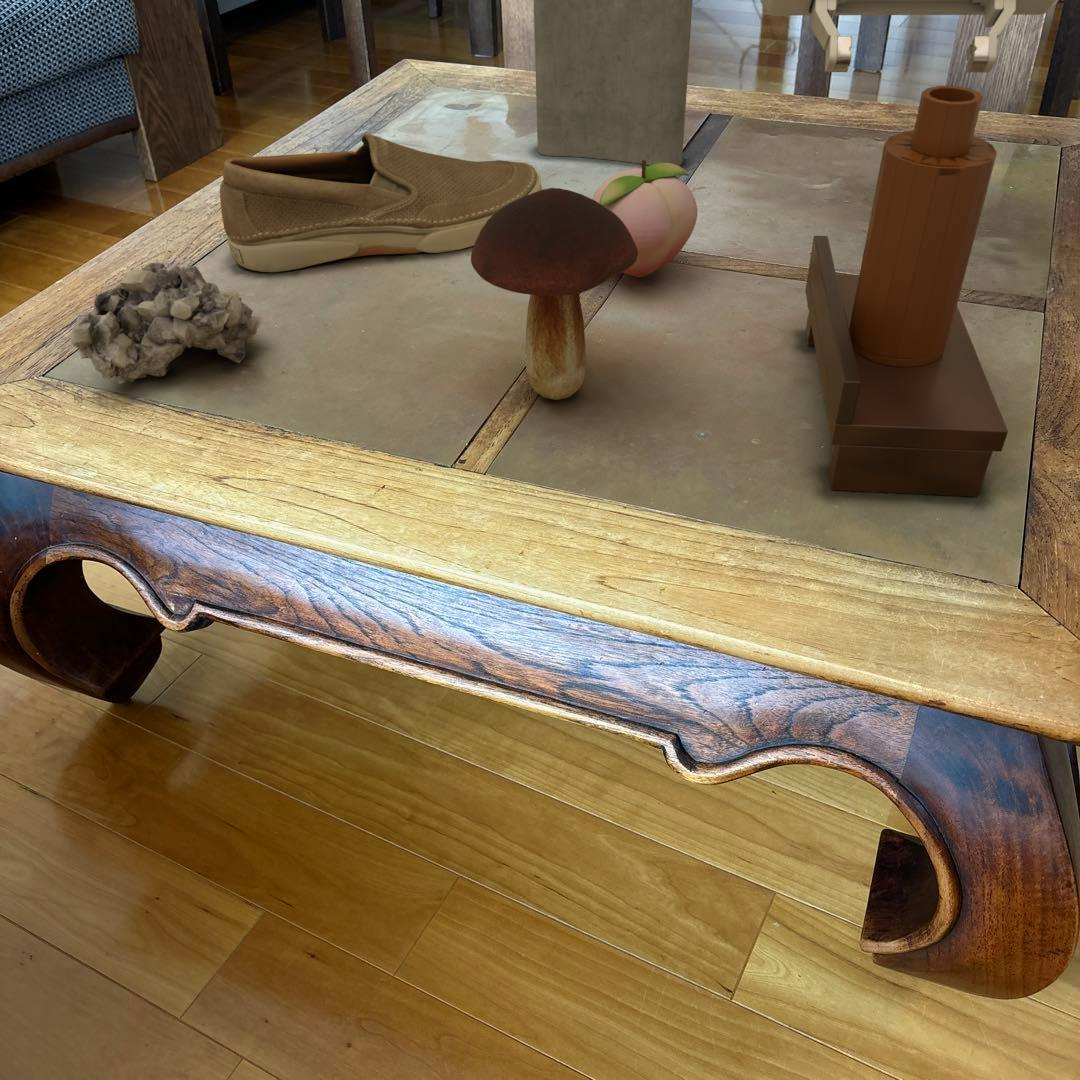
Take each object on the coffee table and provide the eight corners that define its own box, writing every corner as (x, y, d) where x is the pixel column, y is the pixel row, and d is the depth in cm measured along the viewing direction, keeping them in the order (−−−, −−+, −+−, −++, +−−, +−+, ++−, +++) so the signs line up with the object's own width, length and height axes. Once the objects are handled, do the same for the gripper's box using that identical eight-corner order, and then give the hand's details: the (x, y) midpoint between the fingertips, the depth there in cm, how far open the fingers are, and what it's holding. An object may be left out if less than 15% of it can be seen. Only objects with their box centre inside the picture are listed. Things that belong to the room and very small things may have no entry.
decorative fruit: (634, 244, 93) (638, 131, 86) (708, 270, 88) (717, 154, 82) (564, 280, 88) (562, 163, 81) (638, 310, 83) (642, 189, 77)
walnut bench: (930, 336, 79) (955, 238, 74) (986, 497, 64) (1022, 388, 59) (798, 332, 80) (813, 235, 75) (822, 489, 65) (844, 381, 60)
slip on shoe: (528, 190, 102) (525, 98, 97) (561, 235, 94) (559, 137, 88) (228, 233, 97) (205, 137, 91) (235, 285, 88) (211, 183, 83)
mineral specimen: (59, 373, 71) (97, 233, 69) (74, 353, 79) (108, 227, 77) (235, 426, 75) (276, 296, 73) (232, 402, 84) (268, 284, 82)
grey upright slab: (533, 154, 110) (527, -58, 97) (546, 141, 113) (541, -66, 100) (677, 169, 106) (691, -50, 93) (687, 155, 109) (701, -59, 96)
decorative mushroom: (531, 455, 68) (523, 242, 59) (453, 382, 76) (435, 182, 66) (662, 404, 73) (675, 198, 63) (577, 340, 80) (576, 146, 70)
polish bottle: (935, 321, 71) (996, 77, 60) (952, 368, 66) (1022, 113, 55) (843, 319, 71) (888, 77, 61) (853, 365, 66) (904, 112, 56)
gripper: (767, -157, 68) (758, 42, 67) (1088, -164, 66) (1084, 42, 65) (757, -92, 75) (748, 91, 74) (1050, -96, 72) (1045, 92, 71)
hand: (908, 68), depth 69 cm, fingers open, 8 cm apart
